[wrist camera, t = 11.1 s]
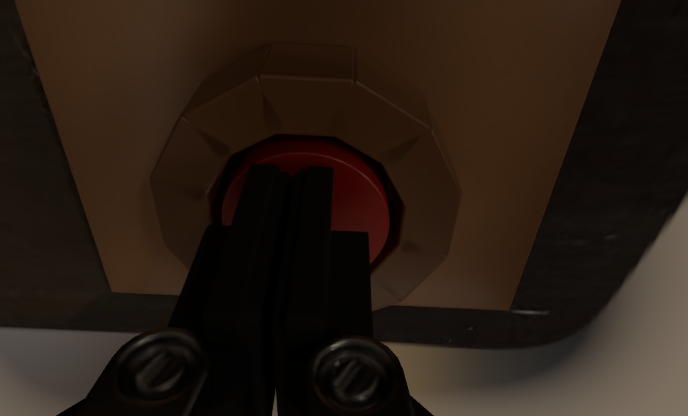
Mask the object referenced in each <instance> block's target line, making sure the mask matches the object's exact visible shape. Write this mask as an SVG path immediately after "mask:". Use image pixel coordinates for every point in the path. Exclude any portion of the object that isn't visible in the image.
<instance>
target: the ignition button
mask: <svg viewBox="0 0 688 416" xmlns="http://www.w3.org/2000/svg"><path fill="white" fill-rule="evenodd" d="M251 164H272V165H278V166H279V171H280V172H288V173H289V193H290V207H291V201H292V196H293V190H294V184H295V178H296V173H306V171H307V166H315V167H334V175H333V201H332V227H331V230H338V231H360V232H368V234H369V252H370V263H371V262H373V261H374V260H375V258H376V257H377V256H378V255H379V253H380V252H381V250H382V248H383V246H384V245H385V242H386V240H387V237H388V232H389V225H390V218H389V206H388V195H387V184H386V174H385V169H384V168H383V166H382V164H381V163H379V162H378V161H376V160H374V159H372V158H371V157H369V156H367V155H365V154H364V153H362V152H360V151H359V150H357V149H355V148H353V147H352V146H350V145H348V144H346V143H345V142H343V141H341V140H339V139H338V138H336V137H327V136H308V135H288V134H275V135H273V136H271V137H269V138H267V139H265V140H263V141H261V142H259V143H256V144H254V145H252V146H250V147H248V148H246V149H244V150H242V152H241V154H240V156H239V159H238V162H237V164H236V167H235V170H234V172H233V175H232V177H231V180H230V183H229V185H228V188H227V191H226V193H225V196H224V199H223V203H222V211H221V214H222V224H223V225H225V226H231V223H232V220H233V216H234V213H235V210H236V207H237V204H238V201H239V198H240V195H241V192H242V189H243V186H244V183H245V179H246V176H247V173H248V170H249V167H250V165H251Z"/></svg>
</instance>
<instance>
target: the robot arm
mask: <svg viewBox="0 0 688 416" xmlns="http://www.w3.org/2000/svg"><path fill="white" fill-rule="evenodd" d="M333 175H334V167H315V166H307V171H306V173H296V178H295V184H294V190H293V196H292V201H291V207H290V193H289V173H288V172H280V171H279V166H278V165H272V164H251V165H250V167H249V170H248V173H247V176H246V179H245V183H244V186H243V189H242V192H241V195H240V198H239V201H238V204H237V207H236V210H235V213H234V216H233V220H232V223H231V226H225V225H209V226H207V228H206V230H205V232H204V234H203V237H202V239H201V242H200V244H199V247H198V250H197V252H196V255H195V257H194V260H193V262H192V265H191V268H190V270H189V273H188V275H187V278H186V281H185V283H184V286H183V288H182V291H181V293H180V296H179V299H178V301H177V304H176V306H175V309H174V312H173V314H172V317H171V319H170V322H169V324H168V327H163V328H158V329H153V330H149V331H147V332H145V333H142V334H140V335H138V336H136V337H134V338H133V339H131V340H130V341H129V342H127V343H126V344H125V345H123V346H122V347H121V348H120V349H119V350H118V351H117V352H116V354H115V355H114V356H113V357H112V358H111V360H110V361H109V363H108V364H107V366H106V367H105V369H104V370H103V372H102V373H101V375H100V377H99V378H98V380H97V381H96V383H95V384H94V386H93V387H92V389H91V390H90V392H89V393H88V395H87V396H86V398H85V399H83V400H81V401H80V402H78V403H76V404H75V405H73V406H72V407H70V408H68V409H66V410H65V411H63V412H61V413H60V414H58V415H56V416H272V410H273V403H274V396H275V389H276V396H277V411H278V416H433V415H432V414H431V413H430V412H429V411H428V410H427V409H425V408H424V407H423V406H422V405H421V404H420V403H418V402H417V401H416V400H415V399H414V398H413V397H412V396H410V394H409V390H408V386H407V382H406V379H405V375H404V371H403V368H402V366H401V364H400V362H399V360H398V357H397V356H396V355H395V354H394V353H393V352H392V351H391V350H390V349H389V347H387V346H386V345H384V344H383V343H381V342H379V341H378V340H376V339H373V324H372V300H371V276H370V252H369V234H368V232H360V231H338V230H331V227H332V201H333Z"/></svg>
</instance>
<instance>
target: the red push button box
mask: <svg viewBox="0 0 688 416" xmlns="http://www.w3.org/2000/svg"><path fill="white" fill-rule="evenodd" d="M14 2H15V5H16V8H17V11H18V14H19V17H20V20H21V23H22V26H23V29H24V32H25V35H26V38H27V41H28V44H29V47H30V50H31V53H32V56H33V59H34V62H35V65H36V68H37V71H38V74H39V77H40V80H41V83H42V86H43V89H44V92H45V94H46V97H47V100H48V103H49V106H50V109H51V112H52V115H53V118H54V121H55V124H56V127H57V130H58V133H59V136H60V139H61V142H62V145H63V148H64V151H65V154H66V157H67V160H68V163H69V166H70V169H71V172H72V175H73V178H74V181H75V184H76V187H77V189H78V192H79V195H80V198H81V201H82V204H83V207H84V210H85V213H86V216H87V219H88V222H89V225H90V228H91V231H92V234H93V237H94V240H95V243H96V246H97V249H98V252H99V255H100V258H101V261H102V264H103V267H104V270H105V273H106V276H107V279H108V282H109V284H110V287H111V290H112V292H122V293H143V294H165V295H180V293H181V291H182V288H183V286H184V283H185V281H186V278H187V275H188V273H189V270H190V268H191V265H192V262H193V260H194V257H195V255H196V252H197V250H198V247H199V244H200V242H201V239H202V237H203V234H204V232H205V230H206V228H207V226H209V225H223V224H222V214H221V211H222V203H223V199H224V196H225V193H226V191H227V188H228V185H229V183H230V180H231V177H232V175H233V172H234V170H235V167H236V164H237V162H238V159H239V156H240V154H241V152H242V150H244V149H246V148H248V147H250V146H252V145H254V144H256V143H259V142H261V141H263V140H265V139H267V138H269V137H271V136H273V135H275V134H288V135H308V136H327V137H336V138H338V139H339V140H341V141H343V142H345V143H346V144H348V145H350V146H352V147H353V148H355V149H357V150H359V151H360V152H362V153H364V154H365V155H367V156H369V157H371V158H372V159H374V160H376V161H378V162H379V163H381V164H382V166H383V168H384V169H385V174H386V184H387V195H388V206H389V218H390V225H389V232H388V237H387V240H386V242H385V245H384V246H383V248H382V250H381V252H380V253H379V255H378V256H377V257H376V258H375V260H374V261H373V262H371V263H370V276H371V300H372V311H374V310H378V309H381V308H384V307H387V306H390V305H399V306H421V307H442V308H463V309H485V310H506V311H507V310H509V308H510V306H511V303H512V300H513V297H514V295H515V292H516V289H517V286H518V284H519V281H520V278H521V275H522V272H523V270H524V267H525V264H526V261H527V259H528V256H529V253H530V250H531V248H532V245H533V242H534V239H535V237H536V234H537V231H538V228H539V226H540V223H541V220H542V217H543V214H544V212H545V209H546V206H547V203H548V201H549V198H550V195H551V192H552V190H553V187H554V184H555V181H556V179H557V176H558V173H559V170H560V168H561V165H562V162H563V159H564V156H565V154H566V151H567V148H568V145H569V143H570V140H571V137H572V134H573V132H574V129H575V126H576V123H577V121H578V118H579V115H580V112H581V110H582V107H583V104H584V101H585V98H586V96H587V93H588V90H589V87H590V85H591V82H592V79H593V76H594V74H595V71H596V68H597V65H598V63H599V60H600V57H601V54H602V52H603V49H604V46H605V43H606V41H607V38H608V35H609V32H610V29H611V27H612V24H613V21H614V18H615V16H616V13H617V10H618V7H619V5H620V2H621V0H14Z"/></svg>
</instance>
